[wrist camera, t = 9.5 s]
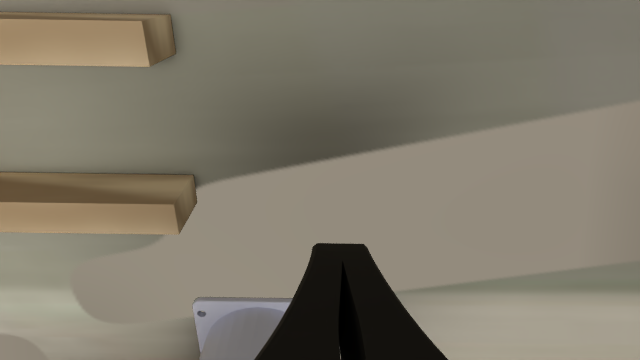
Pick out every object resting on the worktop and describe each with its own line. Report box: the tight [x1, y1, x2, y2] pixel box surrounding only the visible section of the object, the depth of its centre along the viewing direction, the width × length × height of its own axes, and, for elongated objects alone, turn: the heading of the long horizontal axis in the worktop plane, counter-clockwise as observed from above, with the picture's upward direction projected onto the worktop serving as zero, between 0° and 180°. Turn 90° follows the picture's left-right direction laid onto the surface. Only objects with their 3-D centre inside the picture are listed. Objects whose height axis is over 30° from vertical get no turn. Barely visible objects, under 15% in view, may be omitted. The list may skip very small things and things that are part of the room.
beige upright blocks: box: [0, 12, 197, 234], centre depth 18 cm, size 9×11×3 cm
